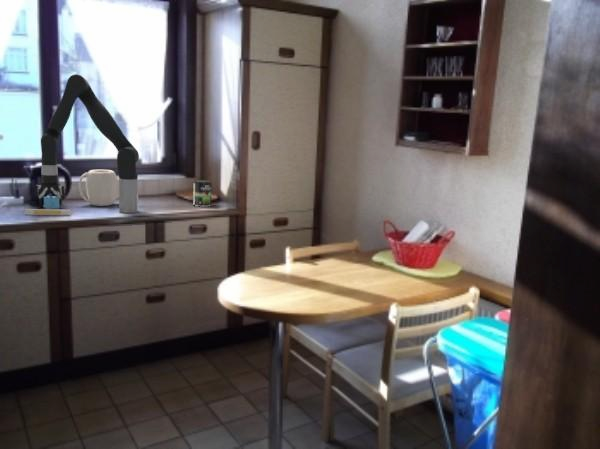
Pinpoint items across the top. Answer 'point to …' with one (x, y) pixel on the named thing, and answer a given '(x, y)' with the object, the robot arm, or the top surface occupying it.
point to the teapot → (51, 202)
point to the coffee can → (202, 193)
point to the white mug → (100, 187)
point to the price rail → (46, 212)
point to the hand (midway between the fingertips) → (50, 205)
